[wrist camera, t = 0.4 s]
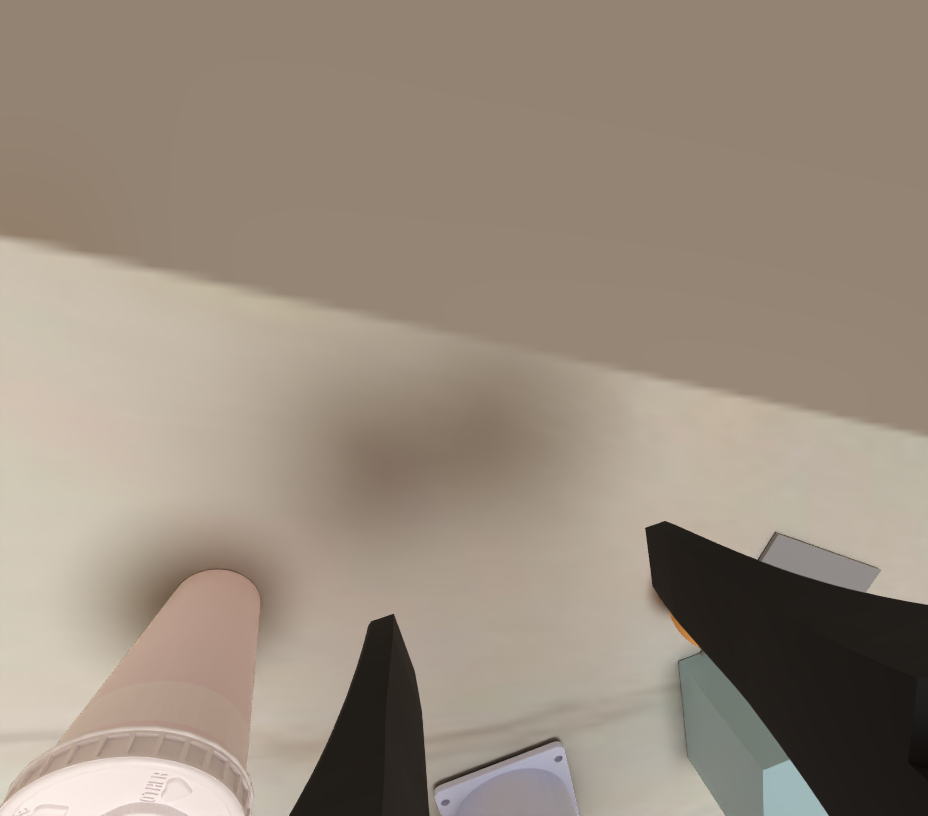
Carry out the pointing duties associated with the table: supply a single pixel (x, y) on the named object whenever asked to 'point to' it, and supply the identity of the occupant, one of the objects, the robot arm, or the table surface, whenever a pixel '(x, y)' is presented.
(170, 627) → the smoothie
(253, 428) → the table surface
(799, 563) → the tape square
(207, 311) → the table surface
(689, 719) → the light blue upright block
